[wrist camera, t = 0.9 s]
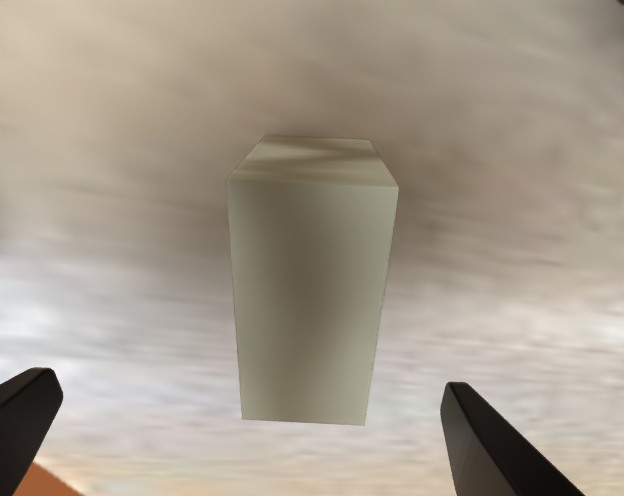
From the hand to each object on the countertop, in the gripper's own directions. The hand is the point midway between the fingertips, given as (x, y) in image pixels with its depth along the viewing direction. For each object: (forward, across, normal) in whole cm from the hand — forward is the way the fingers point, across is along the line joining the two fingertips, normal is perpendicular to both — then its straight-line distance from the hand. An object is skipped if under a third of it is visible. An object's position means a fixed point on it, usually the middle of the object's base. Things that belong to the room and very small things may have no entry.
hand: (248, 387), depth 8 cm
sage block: (+12, -1, +1) cm, 12 cm away
